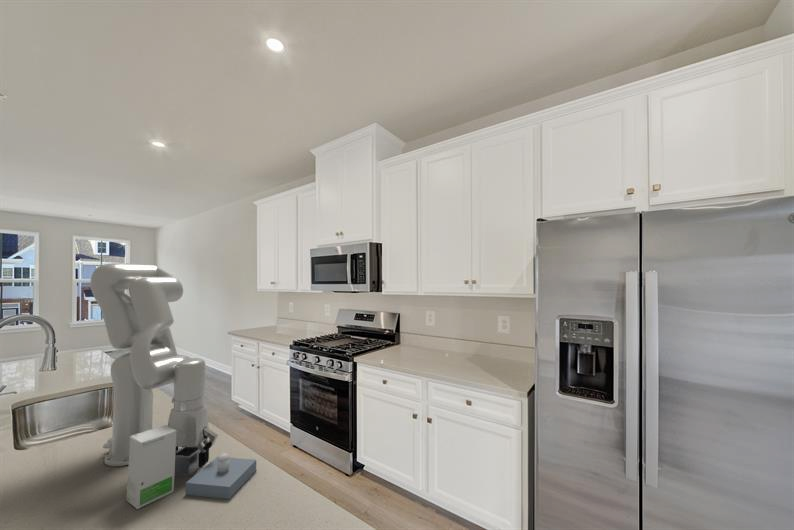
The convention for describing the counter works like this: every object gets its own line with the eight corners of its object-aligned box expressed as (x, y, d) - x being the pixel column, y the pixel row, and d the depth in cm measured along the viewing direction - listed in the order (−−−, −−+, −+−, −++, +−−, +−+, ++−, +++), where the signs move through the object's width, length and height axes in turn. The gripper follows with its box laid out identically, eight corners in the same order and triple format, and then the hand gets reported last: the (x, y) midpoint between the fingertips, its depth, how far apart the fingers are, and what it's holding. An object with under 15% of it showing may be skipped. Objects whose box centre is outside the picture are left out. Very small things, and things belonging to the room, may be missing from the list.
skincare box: (136, 511, 76) (138, 443, 76) (124, 500, 79) (127, 436, 80) (175, 491, 83) (177, 429, 84) (163, 482, 87) (165, 423, 87)
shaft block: (185, 494, 82) (186, 464, 82) (217, 467, 94) (218, 441, 94) (229, 499, 80) (230, 468, 80) (256, 470, 92) (256, 444, 92)
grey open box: (167, 474, 90) (167, 456, 90) (185, 461, 96) (186, 444, 96) (188, 476, 89) (189, 458, 89) (205, 463, 95) (206, 446, 96)
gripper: (151, 406, 91) (149, 469, 90) (207, 409, 88) (206, 473, 88) (172, 396, 98) (171, 454, 97) (225, 399, 96) (224, 458, 95)
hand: (188, 463), depth 93 cm, fingers open, 9 cm apart
